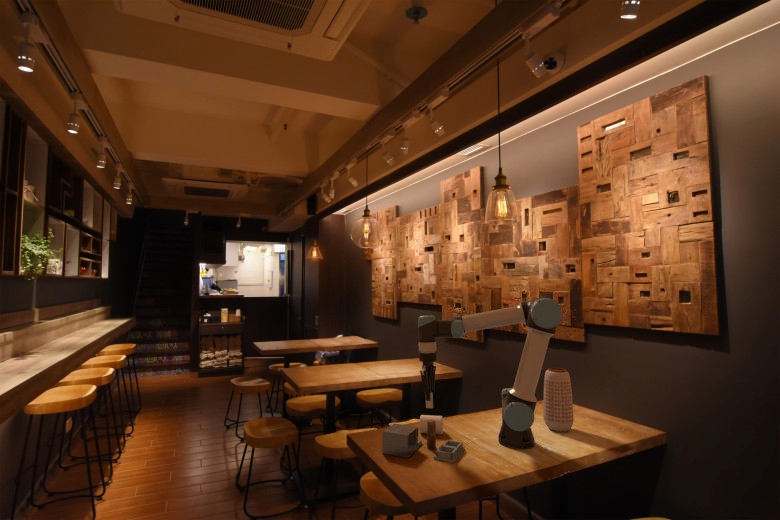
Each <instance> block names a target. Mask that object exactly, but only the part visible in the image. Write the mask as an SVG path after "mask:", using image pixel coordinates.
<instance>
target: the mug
mask: <svg viewBox="0 0 780 520" xmlns="http://www.w3.org/2000/svg"><path fill="white" fill-rule="evenodd" d="M428 420H435V421H436V435H440V436H442V435H443V432H444V431H443V430H444V429H443V428H444V419H443V415H429V414H421V415H420V417H419V433H420V434H425V435H427V421H428Z"/></svg>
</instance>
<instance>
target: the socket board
mask: <svg viewBox="0 0 780 520" xmlns="http://www.w3.org/2000/svg"><path fill="white" fill-rule="evenodd" d="M463 443H464V442H462V441H456V440H451V439H446V441H444V442H443V443H442V444H441V445H440V446H439V447H438V448H436V449H437V450H436V449H435V455H433V460H437V461H443V462H446V463H447V462H448V463H452V464H454V463H455V462H456V461H457V459H458V458H459V457H460V456H461V455H462V454H463V452H464V450H465V446H464V444H463Z"/></svg>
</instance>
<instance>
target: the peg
mask: <svg viewBox="0 0 780 520" xmlns="http://www.w3.org/2000/svg"><path fill="white" fill-rule="evenodd" d="M426 438H427V439H426V444H427V445H426V446H427V447H426V448H427V450H431V451H432V450H436V449H437V440H436V438H437V434H436V421H435V420H428V421H427V434H426Z"/></svg>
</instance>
